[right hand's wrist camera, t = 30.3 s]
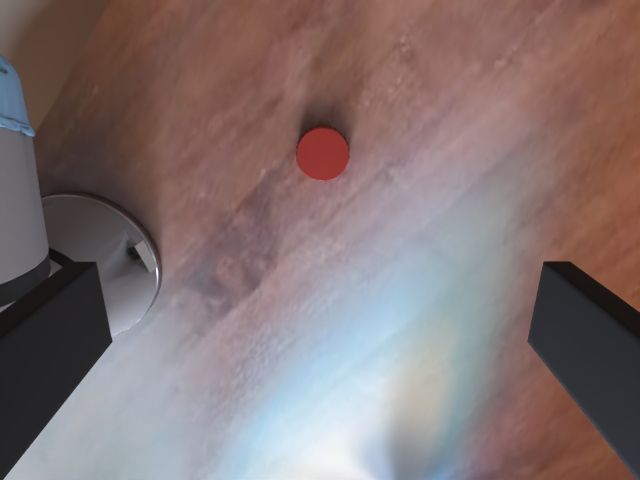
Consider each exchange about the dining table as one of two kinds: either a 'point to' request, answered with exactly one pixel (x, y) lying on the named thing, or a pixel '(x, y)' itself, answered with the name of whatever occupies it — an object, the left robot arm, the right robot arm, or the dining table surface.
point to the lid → (322, 153)
